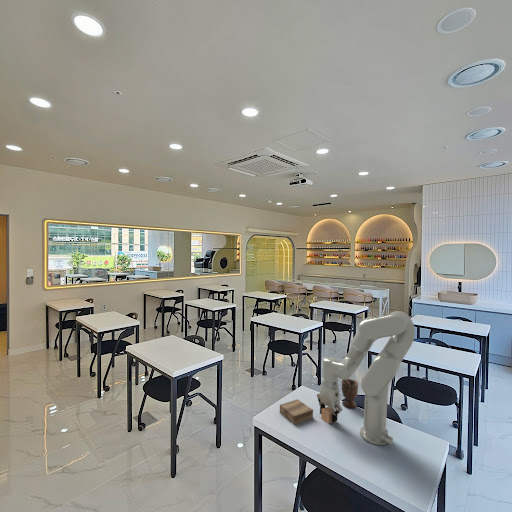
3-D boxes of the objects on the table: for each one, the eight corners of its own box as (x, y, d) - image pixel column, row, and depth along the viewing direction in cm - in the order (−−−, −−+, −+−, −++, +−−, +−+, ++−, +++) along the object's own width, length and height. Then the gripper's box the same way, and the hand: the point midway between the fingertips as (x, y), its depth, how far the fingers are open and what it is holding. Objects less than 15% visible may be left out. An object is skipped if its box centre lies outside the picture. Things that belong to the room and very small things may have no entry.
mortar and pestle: (352, 413, 152) (353, 376, 151) (336, 407, 157) (337, 371, 157) (359, 404, 161) (360, 369, 161) (344, 399, 166) (345, 365, 166)
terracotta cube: (335, 421, 145) (336, 411, 145) (328, 423, 142) (328, 413, 142) (328, 416, 149) (328, 406, 149) (321, 418, 146) (321, 408, 146)
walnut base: (312, 417, 147) (313, 409, 147) (294, 424, 140) (294, 416, 140) (297, 406, 157) (297, 399, 157) (279, 412, 151) (279, 404, 151)
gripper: (348, 388, 140) (347, 424, 140) (322, 374, 155) (321, 407, 155) (337, 392, 136) (336, 429, 136) (312, 377, 151) (310, 410, 151)
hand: (328, 417), depth 146 cm, fingers open, 7 cm apart
